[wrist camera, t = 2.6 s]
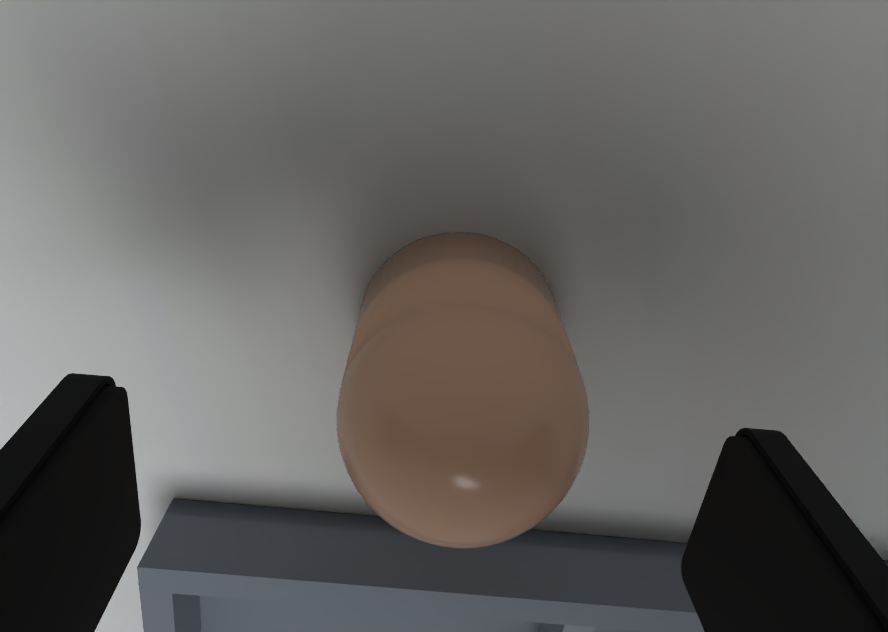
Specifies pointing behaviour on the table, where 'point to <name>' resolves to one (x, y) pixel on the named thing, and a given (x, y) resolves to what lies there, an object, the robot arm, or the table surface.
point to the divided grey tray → (397, 578)
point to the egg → (461, 394)
